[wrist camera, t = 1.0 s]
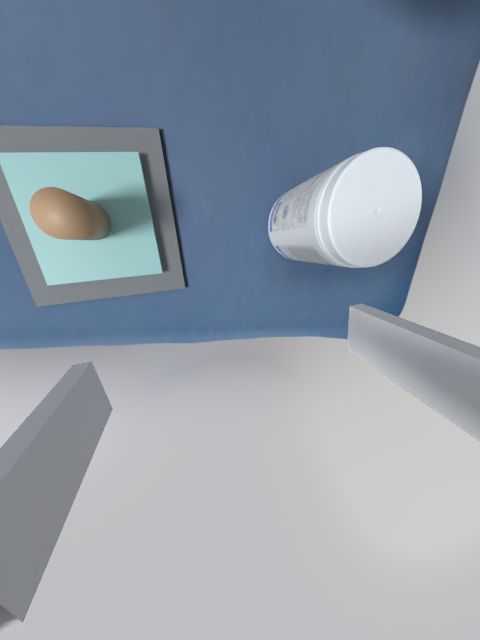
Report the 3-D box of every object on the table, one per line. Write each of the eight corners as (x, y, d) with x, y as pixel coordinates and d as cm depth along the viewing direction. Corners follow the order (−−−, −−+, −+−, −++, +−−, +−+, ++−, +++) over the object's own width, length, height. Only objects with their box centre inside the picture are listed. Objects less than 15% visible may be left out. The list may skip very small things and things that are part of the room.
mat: (-35, 127, 21) (-40, 124, 21) (158, 130, 25) (158, 127, 24) (39, 305, 28) (36, 306, 27) (185, 287, 31) (185, 288, 31)
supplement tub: (333, 239, 34) (432, 238, 21) (282, 271, 34) (347, 291, 20) (312, 173, 30) (416, 118, 17) (253, 209, 30) (311, 182, 16)
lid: (3, 156, 22) (-86, 113, 15) (139, 155, 25) (121, 118, 17) (52, 284, 27) (2, 299, 19) (163, 272, 29) (156, 282, 22)
